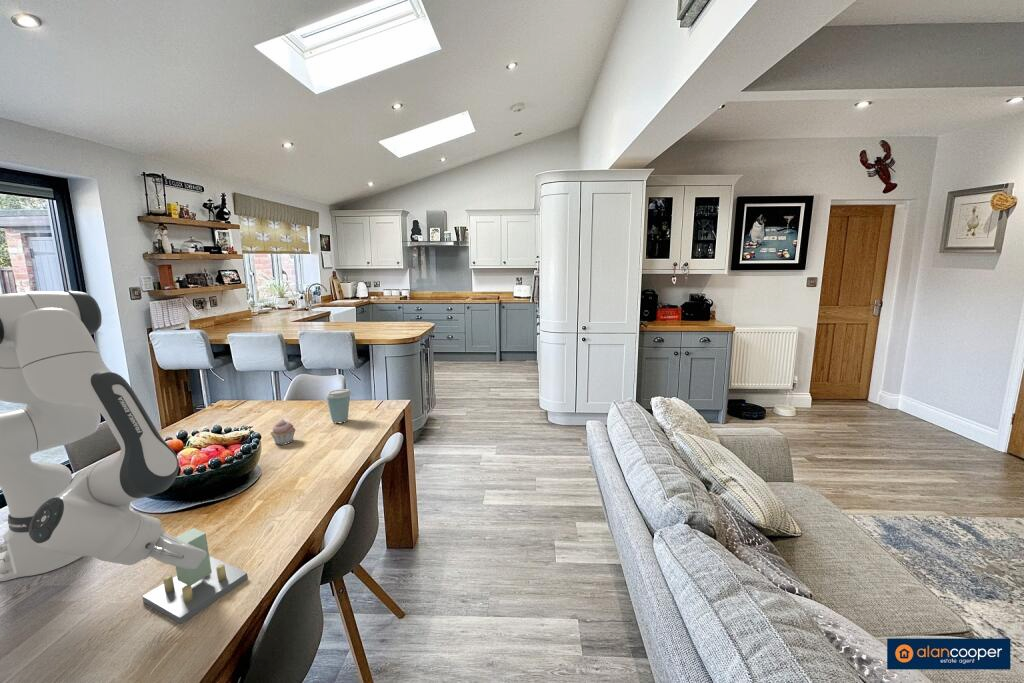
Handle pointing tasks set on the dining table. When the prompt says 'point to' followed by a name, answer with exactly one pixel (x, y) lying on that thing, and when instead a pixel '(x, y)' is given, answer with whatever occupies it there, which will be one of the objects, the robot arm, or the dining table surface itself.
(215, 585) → the plate
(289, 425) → the cupcake
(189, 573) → the green block
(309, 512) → the dining table surface
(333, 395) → the disposable coffee cup
